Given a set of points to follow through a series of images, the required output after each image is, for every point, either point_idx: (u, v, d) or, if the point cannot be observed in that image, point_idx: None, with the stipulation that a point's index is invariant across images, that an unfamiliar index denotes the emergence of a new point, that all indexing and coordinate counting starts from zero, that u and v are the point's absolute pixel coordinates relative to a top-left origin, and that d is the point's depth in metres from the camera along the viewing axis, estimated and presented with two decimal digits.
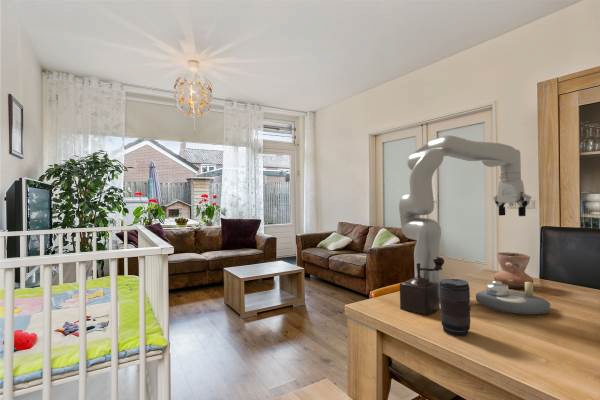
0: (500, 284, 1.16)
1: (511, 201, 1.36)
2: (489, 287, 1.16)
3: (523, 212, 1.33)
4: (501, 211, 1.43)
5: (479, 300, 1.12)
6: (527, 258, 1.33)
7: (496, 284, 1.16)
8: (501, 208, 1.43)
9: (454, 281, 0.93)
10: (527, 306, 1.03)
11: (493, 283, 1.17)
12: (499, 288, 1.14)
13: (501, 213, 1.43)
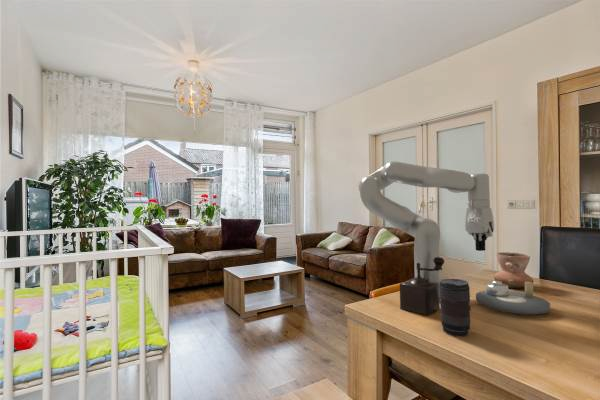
0: (500, 284, 1.16)
1: (479, 232, 1.21)
2: (489, 287, 1.16)
3: (482, 246, 1.23)
4: None
5: (479, 300, 1.12)
6: (527, 258, 1.33)
7: (496, 284, 1.16)
8: None
9: (454, 281, 0.93)
10: (527, 306, 1.03)
11: (493, 283, 1.17)
12: (499, 288, 1.14)
13: None
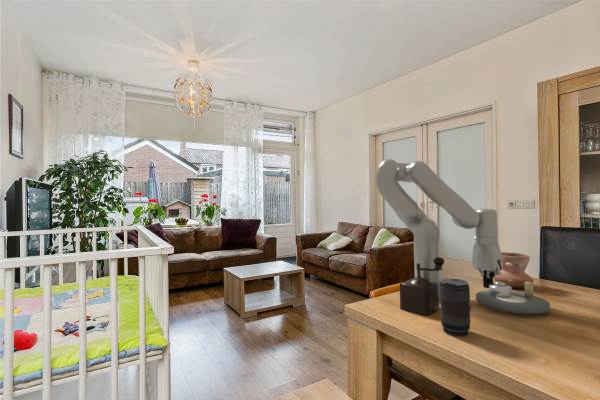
0: (503, 285, 1.15)
1: (487, 269, 1.18)
2: (492, 288, 1.15)
3: None
4: None
5: (479, 300, 1.12)
6: (527, 258, 1.33)
7: (499, 285, 1.15)
8: None
9: (454, 281, 0.93)
10: (527, 306, 1.03)
11: (496, 284, 1.16)
12: (502, 289, 1.13)
13: None
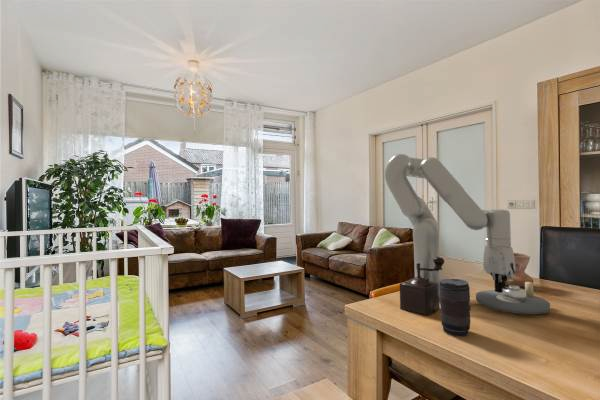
0: (518, 289, 1.09)
1: (499, 273, 1.13)
2: (506, 292, 1.10)
3: None
4: None
5: (479, 300, 1.12)
6: (527, 258, 1.33)
7: (513, 289, 1.09)
8: None
9: (454, 281, 0.93)
10: (527, 306, 1.03)
11: (510, 288, 1.10)
12: (517, 293, 1.07)
13: None
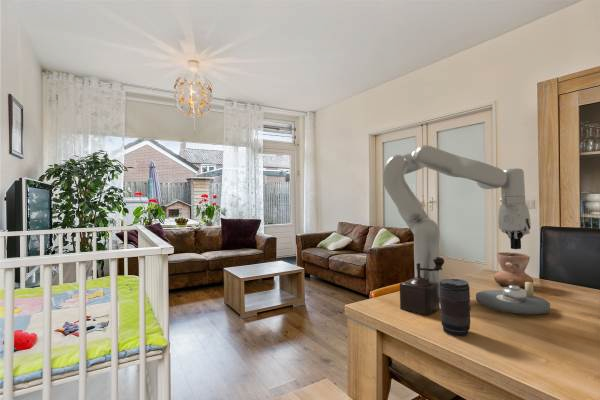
0: (518, 289, 1.09)
1: (515, 229, 1.16)
2: (506, 292, 1.10)
3: (518, 245, 1.17)
4: None
5: (479, 300, 1.12)
6: (527, 258, 1.33)
7: (514, 289, 1.09)
8: None
9: (454, 281, 0.93)
10: (527, 306, 1.03)
11: (510, 288, 1.10)
12: (517, 293, 1.07)
13: None
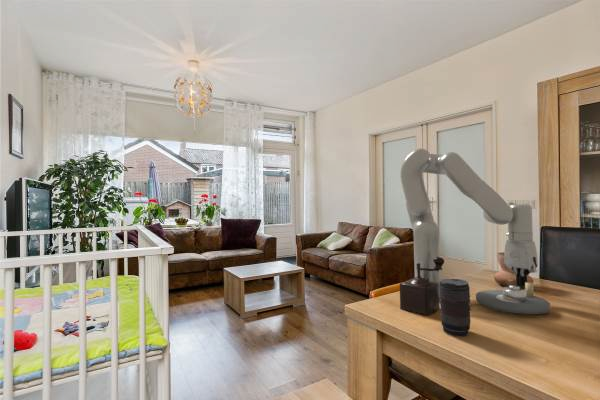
0: (518, 289, 1.09)
1: (521, 267, 1.14)
2: (506, 292, 1.10)
3: (524, 282, 1.15)
4: None
5: (479, 300, 1.13)
6: None
7: (513, 289, 1.09)
8: None
9: (454, 281, 0.93)
10: (527, 306, 1.03)
11: (510, 288, 1.10)
12: (517, 293, 1.07)
13: None
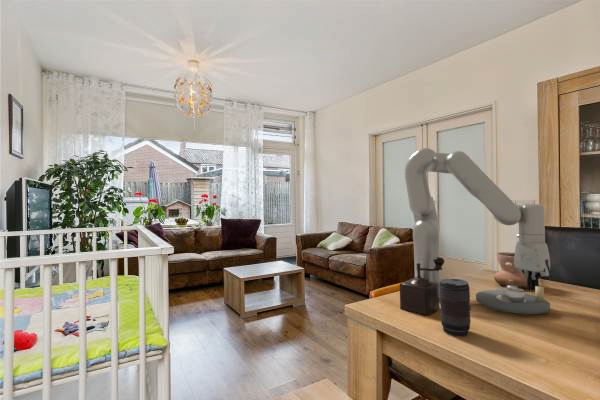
0: (513, 289, 1.09)
1: (533, 270, 1.08)
2: (501, 290, 1.12)
3: None
4: None
5: None
6: None
7: (508, 288, 1.10)
8: None
9: (454, 281, 0.93)
10: (508, 304, 1.05)
11: (507, 287, 1.11)
12: (507, 292, 1.09)
13: None
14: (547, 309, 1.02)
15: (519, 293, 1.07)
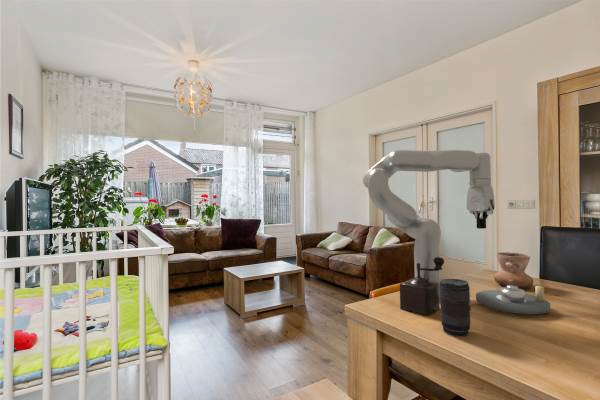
0: (513, 289, 1.09)
1: (480, 209, 1.24)
2: (501, 290, 1.12)
3: (483, 224, 1.26)
4: None
5: None
6: (527, 258, 1.33)
7: (508, 288, 1.10)
8: None
9: (454, 281, 0.93)
10: (508, 304, 1.05)
11: (507, 287, 1.11)
12: (507, 292, 1.09)
13: None
14: (547, 309, 1.02)
15: (519, 293, 1.07)
